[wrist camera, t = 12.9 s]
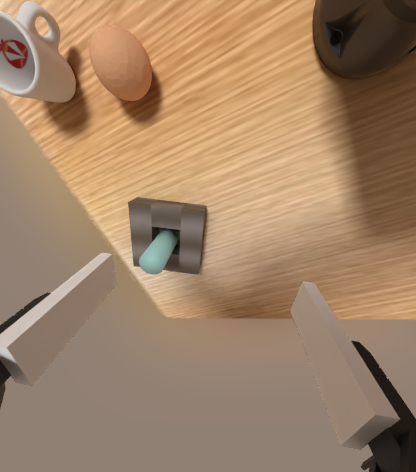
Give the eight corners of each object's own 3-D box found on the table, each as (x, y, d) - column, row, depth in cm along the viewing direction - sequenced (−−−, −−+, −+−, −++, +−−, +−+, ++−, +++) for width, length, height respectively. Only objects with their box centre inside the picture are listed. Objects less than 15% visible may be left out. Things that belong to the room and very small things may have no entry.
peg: (162, 223, 38) (138, 251, 27) (180, 225, 38) (164, 254, 27) (162, 240, 40) (139, 272, 29) (180, 242, 40) (163, 275, 29)
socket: (137, 197, 36) (128, 202, 33) (206, 205, 36) (204, 211, 32) (141, 256, 42) (133, 265, 38) (200, 264, 42) (198, 274, 38)
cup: (47, 9, 26) (-23, -47, 18) (98, 53, 27) (52, 17, 20) (29, 86, 30) (-34, 64, 22) (74, 120, 31) (29, 110, 24)
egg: (116, 37, 26) (71, -10, 19) (164, 58, 27) (140, 19, 19) (111, 96, 29) (71, 76, 22) (154, 113, 30) (130, 99, 22)
